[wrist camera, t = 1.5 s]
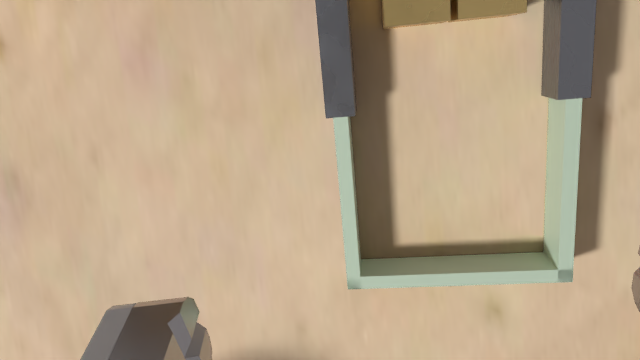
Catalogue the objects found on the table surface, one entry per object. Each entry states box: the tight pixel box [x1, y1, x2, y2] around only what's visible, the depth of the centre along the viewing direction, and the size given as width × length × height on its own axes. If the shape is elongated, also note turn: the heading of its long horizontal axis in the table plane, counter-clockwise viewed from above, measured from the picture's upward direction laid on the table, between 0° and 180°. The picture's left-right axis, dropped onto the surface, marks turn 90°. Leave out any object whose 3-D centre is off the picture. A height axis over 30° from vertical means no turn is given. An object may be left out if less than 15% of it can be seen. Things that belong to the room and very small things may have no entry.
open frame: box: [333, 98, 582, 289], centre depth 34 cm, size 13×16×3 cm
